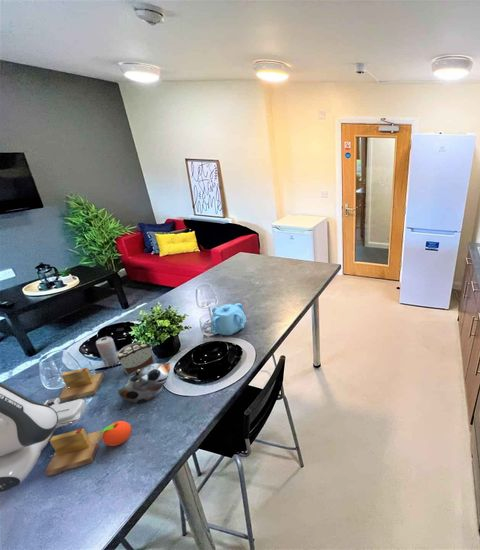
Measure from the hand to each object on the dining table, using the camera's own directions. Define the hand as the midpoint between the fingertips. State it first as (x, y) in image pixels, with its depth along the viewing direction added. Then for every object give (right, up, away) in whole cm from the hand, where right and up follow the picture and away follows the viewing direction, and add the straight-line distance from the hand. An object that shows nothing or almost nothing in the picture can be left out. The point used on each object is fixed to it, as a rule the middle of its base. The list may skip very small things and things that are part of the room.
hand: (53, 400), depth 98 cm
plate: (-2, -1, +12) cm, 12 cm away
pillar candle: (-2, +5, +25) cm, 26 cm away
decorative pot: (+36, +15, +51) cm, 64 cm away
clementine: (+27, -11, -6) cm, 30 cm away
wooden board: (+18, -12, -10) cm, 24 cm away
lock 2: (-2, +1, +11) cm, 12 cm away
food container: (+9, +4, +24) cm, 26 cm away
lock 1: (+18, -10, -11) cm, 24 cm away
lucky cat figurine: (+23, -2, +13) cm, 27 cm away
